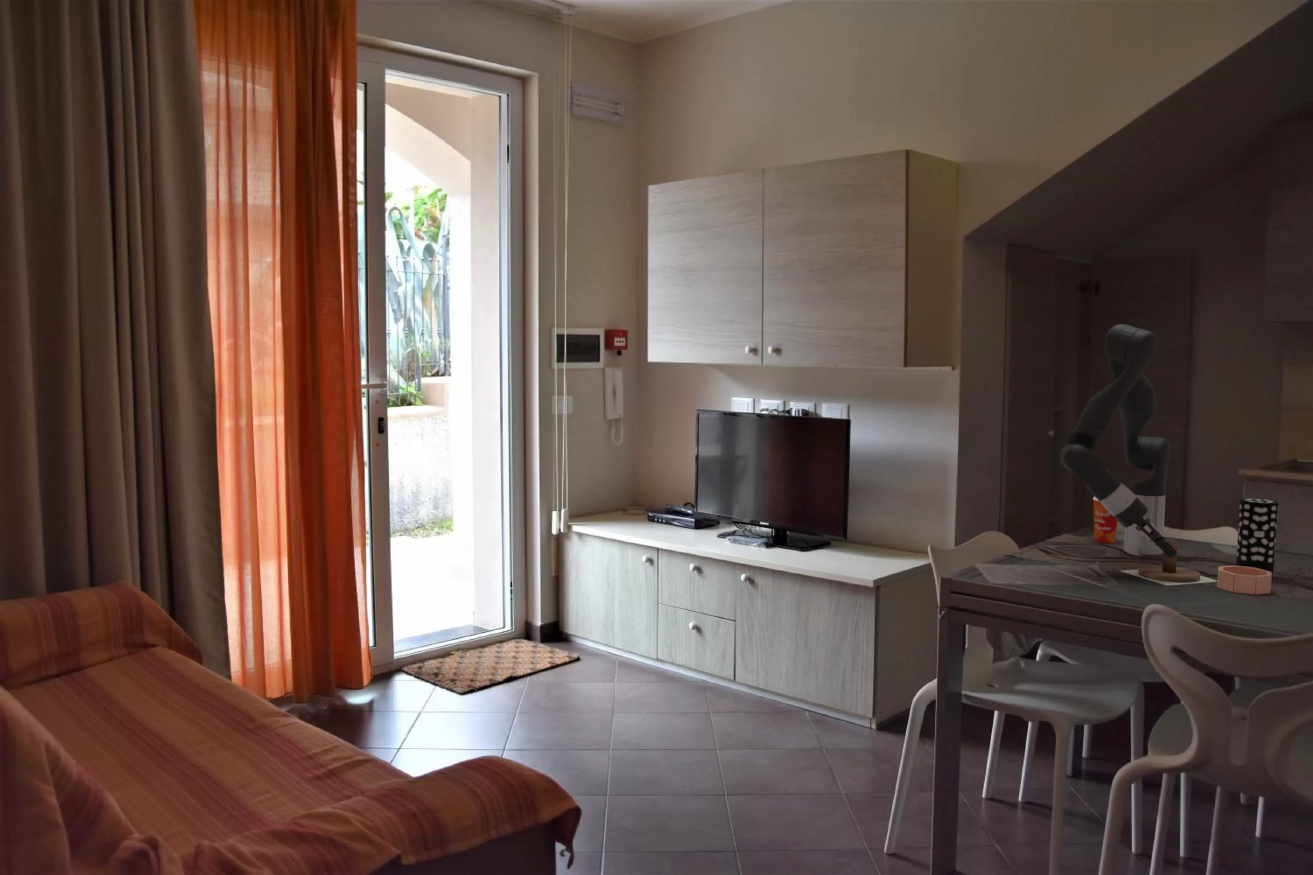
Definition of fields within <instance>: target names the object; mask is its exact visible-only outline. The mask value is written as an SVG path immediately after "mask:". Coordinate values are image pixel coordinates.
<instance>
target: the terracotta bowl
mask: <svg viewBox="0 0 1313 875" xmlns="http://www.w3.org/2000/svg"><path fill="white" fill-rule="evenodd" d="M1217 568H1218V570H1217V584H1216V585H1217V586H1216V587H1217V588H1218V589H1221V590H1224V591H1228V592H1231V593H1237V594H1245V595H1246V594H1247V595H1255V596H1253V598H1256V599H1257V598H1267V597H1271V595H1266V594H1271V592H1272V581H1273V580H1272V574H1271V572H1270V571H1266V570H1262V569H1258V568H1254V567H1244V566H1236V565H1222V566H1221V565H1220V566H1217ZM1264 594H1265V595H1264Z"/></svg>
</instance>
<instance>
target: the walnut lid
mask: <svg viewBox="0 0 1313 875" xmlns="http://www.w3.org/2000/svg"><path fill="white" fill-rule="evenodd" d="M1165 539H1166V541H1167V542H1168V543H1169V544H1170V545H1171V546H1172V547H1173V548H1174V549H1175V550H1176V551H1177V553H1176V554H1175V555H1174V556H1173V557H1169V556H1168V555H1167V554H1166V553H1165V552H1164V551H1162V563H1161V564H1152V565H1151V564H1147V565H1141V566H1139V567H1138V568H1137V569H1138V574H1139V575H1141V576H1143V577H1146V578H1149V579H1154V580H1159V581H1166V582H1179V583H1188V582H1196V581H1199V580H1200V576H1201V573H1200V572H1199V571H1197V570H1193V569H1191V568H1185V567H1180V566H1177V563H1178V562H1177V560H1178V547H1179V546H1178V545H1179V543H1178V542H1179V541H1178V540H1177V539H1172V538H1165Z"/></svg>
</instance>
